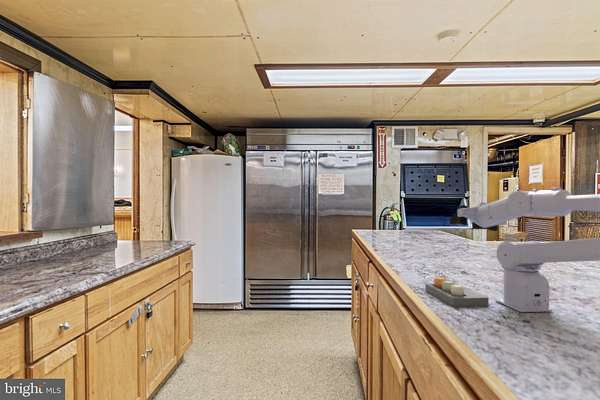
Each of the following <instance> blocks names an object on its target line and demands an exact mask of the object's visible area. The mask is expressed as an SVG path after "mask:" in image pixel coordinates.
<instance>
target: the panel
mask: <svg viewBox="0 0 600 400" xmlns="http://www.w3.org/2000/svg"><path fill="white" fill-rule="evenodd" d="M454 283H455V285H460V286H462V285H461V284H458V283H457V282H454ZM424 287H425V288H424V289H425V291H424V292H426V293H427V294H430V295H432V296H434V297H435V298H437V299H439V300H440V301H442V302H444V303H446V304H447V305H450V306H451V307H454V308H457V307H461V306H462V307H489V297H488V296H486V295H483V294H481V293H479V292H477V291H475V290H472V289H470V288H467V287H465V286H464V296H453V295H451V292H445V291H443V290H442V287H439V288H437V287H435V286H434V283H425V286H424Z"/></svg>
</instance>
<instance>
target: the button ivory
mask: <svg viewBox="0 0 600 400" xmlns="http://www.w3.org/2000/svg"><path fill="white" fill-rule="evenodd" d="M460 285H461V284H459V285H451V295H453V296H464V287H465V286H464V285H461V286H460Z"/></svg>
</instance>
